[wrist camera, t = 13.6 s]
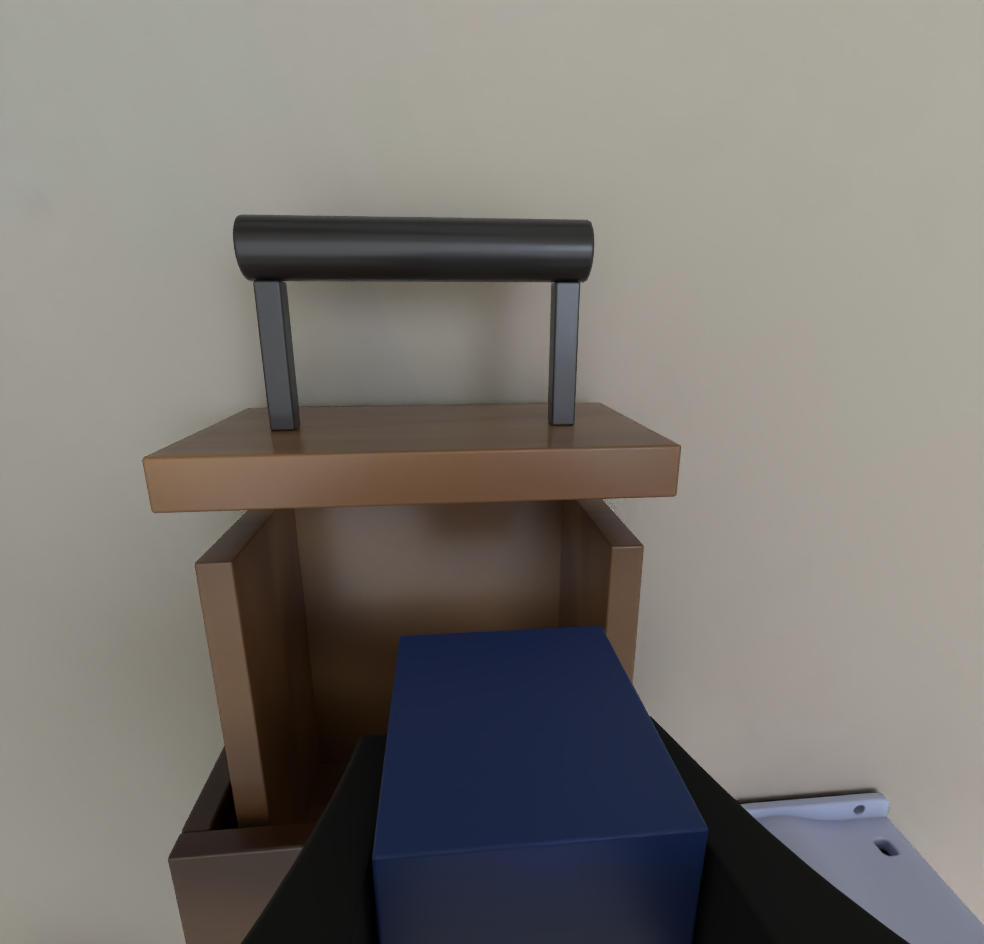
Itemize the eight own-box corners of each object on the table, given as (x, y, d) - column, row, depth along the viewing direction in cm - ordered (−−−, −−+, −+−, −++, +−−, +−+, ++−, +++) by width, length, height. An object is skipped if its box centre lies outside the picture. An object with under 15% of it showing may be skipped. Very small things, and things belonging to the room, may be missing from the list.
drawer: (225, 236, 15) (89, 185, 9) (609, 241, 16) (706, 196, 10) (291, 761, 20) (230, 943, 14) (582, 739, 21) (637, 902, 15)
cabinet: (269, 654, 20) (166, 859, 12) (596, 636, 21) (684, 814, 14) (306, 936, 24) (244, 1221, 16) (581, 909, 25) (642, 1164, 17)
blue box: (591, 784, 12) (678, 1051, 8) (408, 799, 12) (389, 1088, 7) (601, 624, 11) (710, 828, 6) (399, 634, 10) (370, 858, 6)
